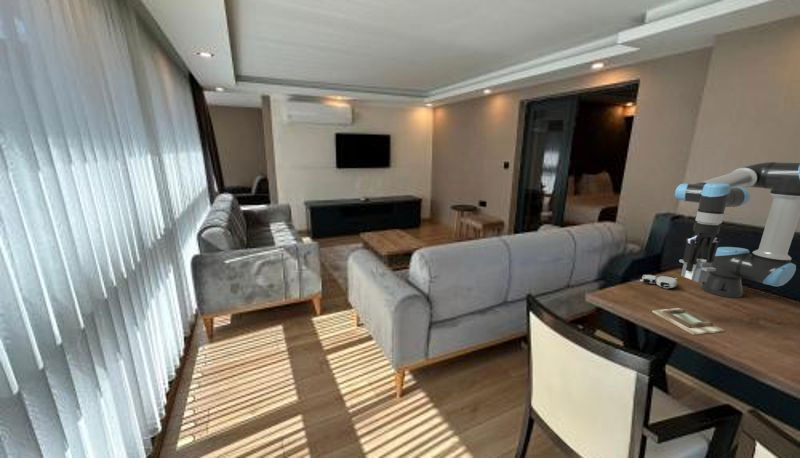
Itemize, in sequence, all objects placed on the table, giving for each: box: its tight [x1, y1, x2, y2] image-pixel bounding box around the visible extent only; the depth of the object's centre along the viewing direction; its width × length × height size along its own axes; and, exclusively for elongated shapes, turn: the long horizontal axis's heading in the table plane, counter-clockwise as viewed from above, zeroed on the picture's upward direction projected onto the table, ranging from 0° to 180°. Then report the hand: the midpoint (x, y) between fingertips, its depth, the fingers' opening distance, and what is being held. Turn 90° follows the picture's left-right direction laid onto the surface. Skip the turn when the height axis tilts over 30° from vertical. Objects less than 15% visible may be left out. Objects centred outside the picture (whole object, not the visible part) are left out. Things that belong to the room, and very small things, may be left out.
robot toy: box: [639, 274, 678, 290], centre depth 169 cm, size 12×4×15 cm
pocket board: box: [652, 307, 725, 336], centre depth 134 cm, size 14×18×2 cm
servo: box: [678, 258, 716, 283], centre depth 129 cm, size 4×11×9 cm, turn 7°
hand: (693, 278), depth 130 cm, fingers closed on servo, 4 cm apart
